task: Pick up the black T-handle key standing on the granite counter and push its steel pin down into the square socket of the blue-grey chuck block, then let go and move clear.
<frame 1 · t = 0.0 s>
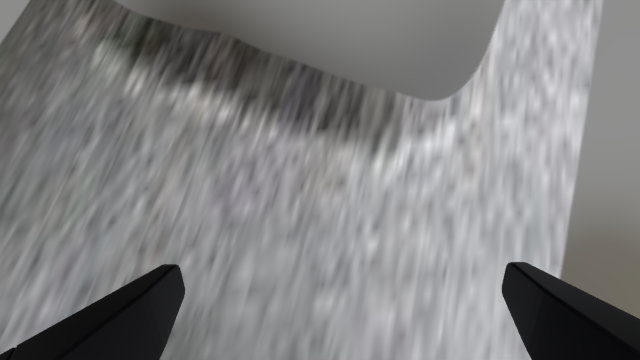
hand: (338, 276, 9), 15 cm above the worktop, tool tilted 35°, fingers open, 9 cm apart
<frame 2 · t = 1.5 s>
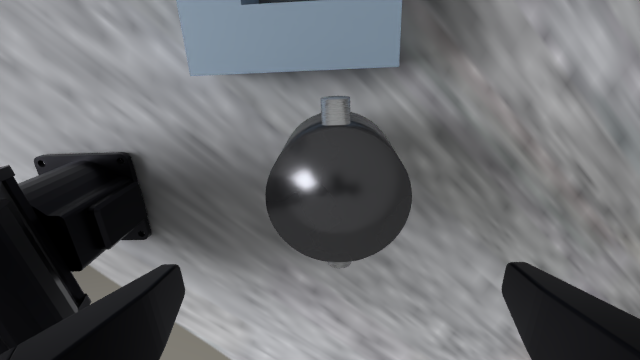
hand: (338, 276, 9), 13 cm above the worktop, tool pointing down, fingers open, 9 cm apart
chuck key: (336, 148, 20), on the worktop
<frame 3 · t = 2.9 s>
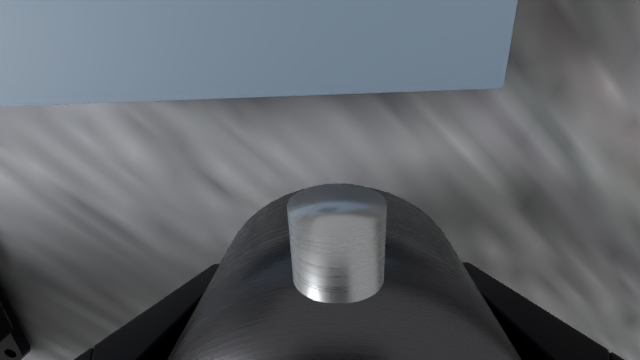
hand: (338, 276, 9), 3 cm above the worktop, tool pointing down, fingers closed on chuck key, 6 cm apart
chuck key: (337, 224, 11), on the worktop, touching gripper
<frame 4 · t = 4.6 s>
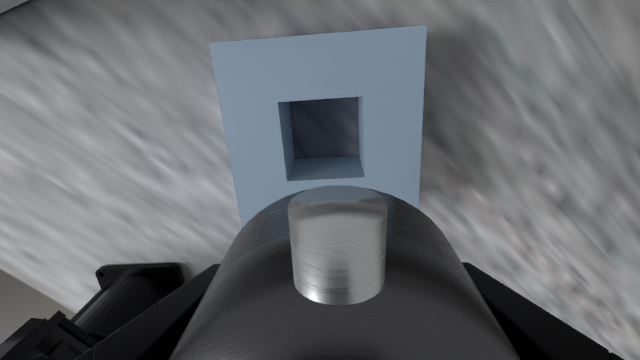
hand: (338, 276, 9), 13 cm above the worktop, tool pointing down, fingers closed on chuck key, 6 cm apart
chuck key: (338, 225, 11), point 10 cm above the worktop, touching gripper
chuck block: (324, 125, 20), on the worktop
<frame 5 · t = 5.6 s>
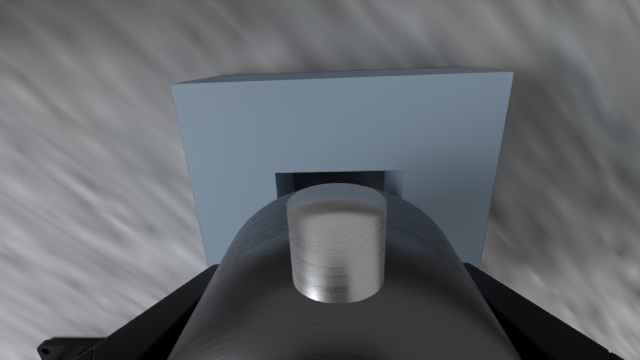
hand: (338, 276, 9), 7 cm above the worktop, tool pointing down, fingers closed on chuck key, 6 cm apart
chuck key: (337, 224, 11), point 4 cm above the worktop, touching gripper
chuck block: (338, 184, 15), on the worktop
when the fingers open (5 cm above the worktop, at t = 6.4 s): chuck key drops 1 cm, resting on chuck block.
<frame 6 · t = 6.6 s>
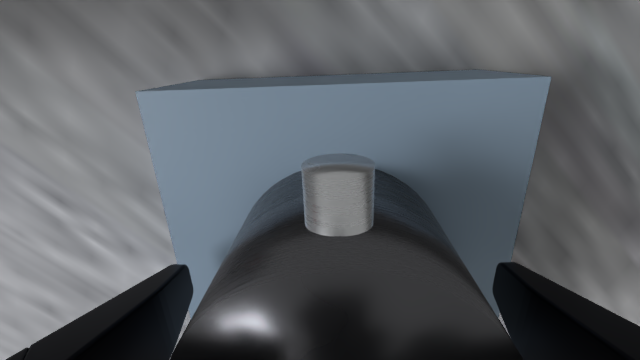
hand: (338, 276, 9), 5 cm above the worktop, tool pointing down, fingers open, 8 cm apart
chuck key: (338, 206, 13), resting on chuck block
chuck block: (337, 201, 13), on the worktop
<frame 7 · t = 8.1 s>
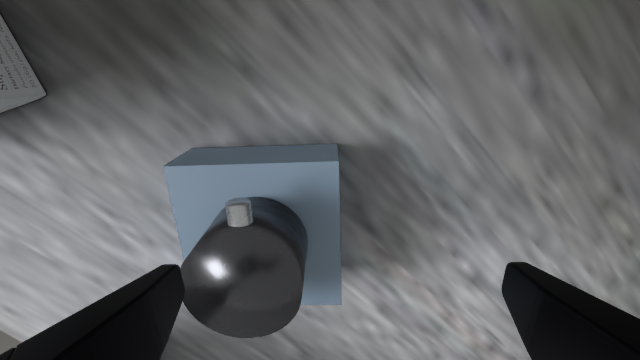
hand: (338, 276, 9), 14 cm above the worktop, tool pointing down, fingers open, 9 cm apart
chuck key: (269, 215, 23), resting on chuck block
chuck block: (270, 212, 23), on the worktop
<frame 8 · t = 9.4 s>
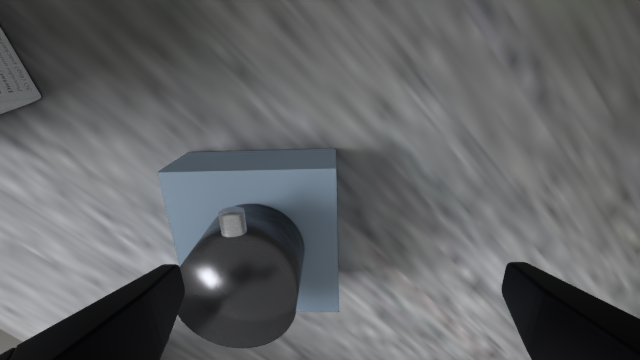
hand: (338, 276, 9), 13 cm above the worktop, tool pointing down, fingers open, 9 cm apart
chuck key: (267, 220, 22), resting on chuck block
chuck block: (268, 216, 23), on the worktop
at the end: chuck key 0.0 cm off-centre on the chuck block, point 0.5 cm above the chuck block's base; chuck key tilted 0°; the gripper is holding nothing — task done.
